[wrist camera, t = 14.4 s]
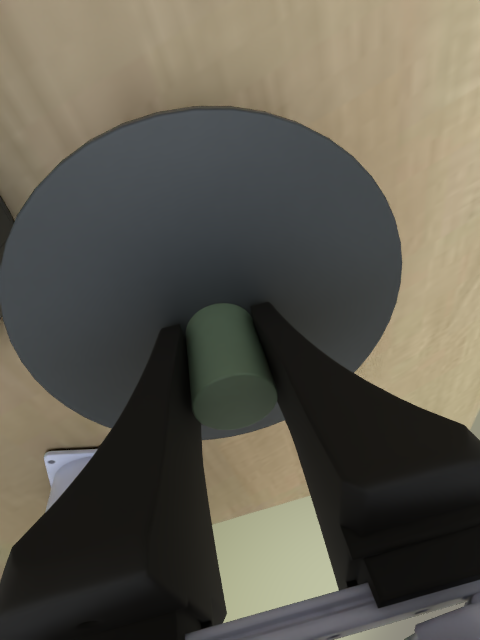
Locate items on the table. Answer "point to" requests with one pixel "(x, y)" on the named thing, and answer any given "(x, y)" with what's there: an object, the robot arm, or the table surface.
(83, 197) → the bowl lid
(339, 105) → the table surface
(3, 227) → the bowl
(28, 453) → the table surface
